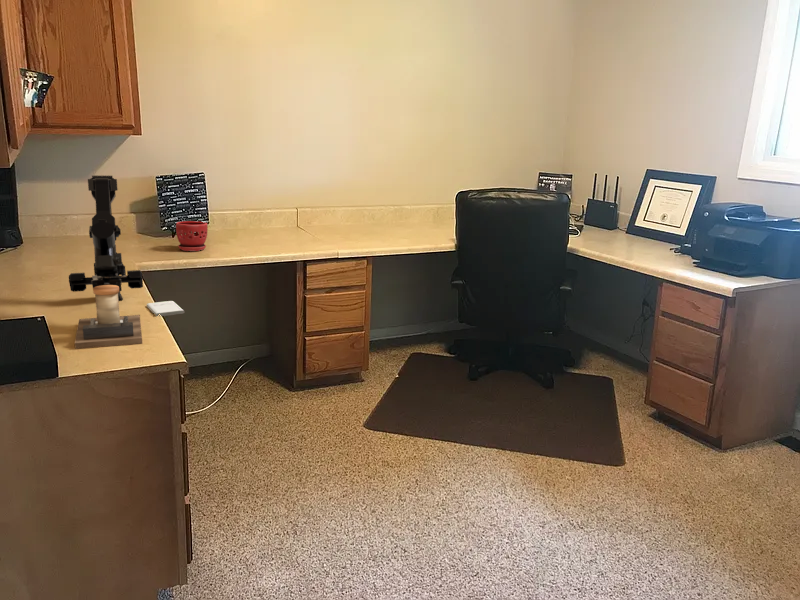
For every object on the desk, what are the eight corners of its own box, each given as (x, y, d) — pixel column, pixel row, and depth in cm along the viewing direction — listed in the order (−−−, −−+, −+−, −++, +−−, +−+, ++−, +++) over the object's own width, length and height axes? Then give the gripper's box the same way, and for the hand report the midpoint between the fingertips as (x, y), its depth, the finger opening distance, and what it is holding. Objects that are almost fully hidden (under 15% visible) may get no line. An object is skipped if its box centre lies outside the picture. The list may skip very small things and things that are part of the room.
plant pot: (207, 252, 296) (206, 224, 293) (175, 252, 293) (174, 224, 290) (209, 246, 308) (208, 220, 305) (178, 246, 306) (177, 220, 302)
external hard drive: (156, 318, 204) (146, 308, 214) (184, 315, 208) (173, 305, 218) (156, 313, 203) (146, 303, 213) (184, 310, 208) (173, 300, 218)
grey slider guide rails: (86, 321, 191) (85, 311, 191) (132, 318, 196) (131, 308, 195) (83, 339, 177) (82, 328, 176) (133, 336, 181) (132, 325, 180)
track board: (79, 323, 194) (79, 318, 194) (140, 319, 200) (139, 314, 199) (75, 348, 174) (74, 343, 174) (142, 343, 180) (142, 337, 180)
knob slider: (95, 325, 188) (92, 285, 185) (123, 323, 190) (120, 283, 187) (94, 332, 182) (91, 291, 179) (123, 330, 184) (120, 290, 181)
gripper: (66, 244, 184) (66, 293, 177) (140, 241, 191) (143, 289, 184) (70, 266, 194) (71, 314, 186) (141, 263, 200) (144, 310, 193)
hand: (108, 306), depth 187 cm, fingers closed, pressing on knob slider
